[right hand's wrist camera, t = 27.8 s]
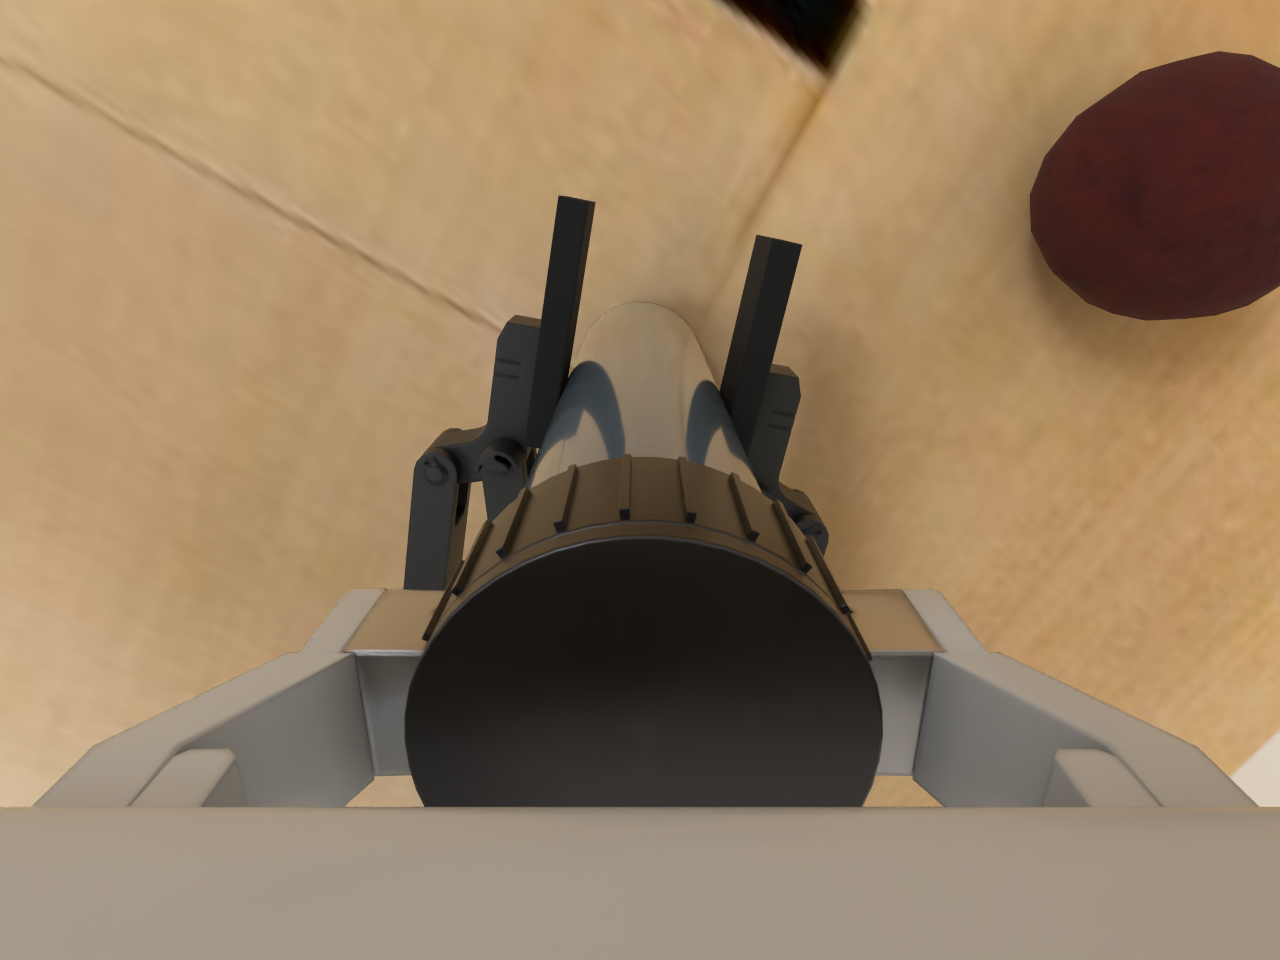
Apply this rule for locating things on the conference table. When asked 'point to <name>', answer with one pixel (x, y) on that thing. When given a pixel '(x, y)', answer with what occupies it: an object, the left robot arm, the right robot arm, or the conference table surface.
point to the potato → (1168, 191)
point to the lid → (643, 654)
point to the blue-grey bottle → (640, 399)
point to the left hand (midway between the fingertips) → (678, 221)
